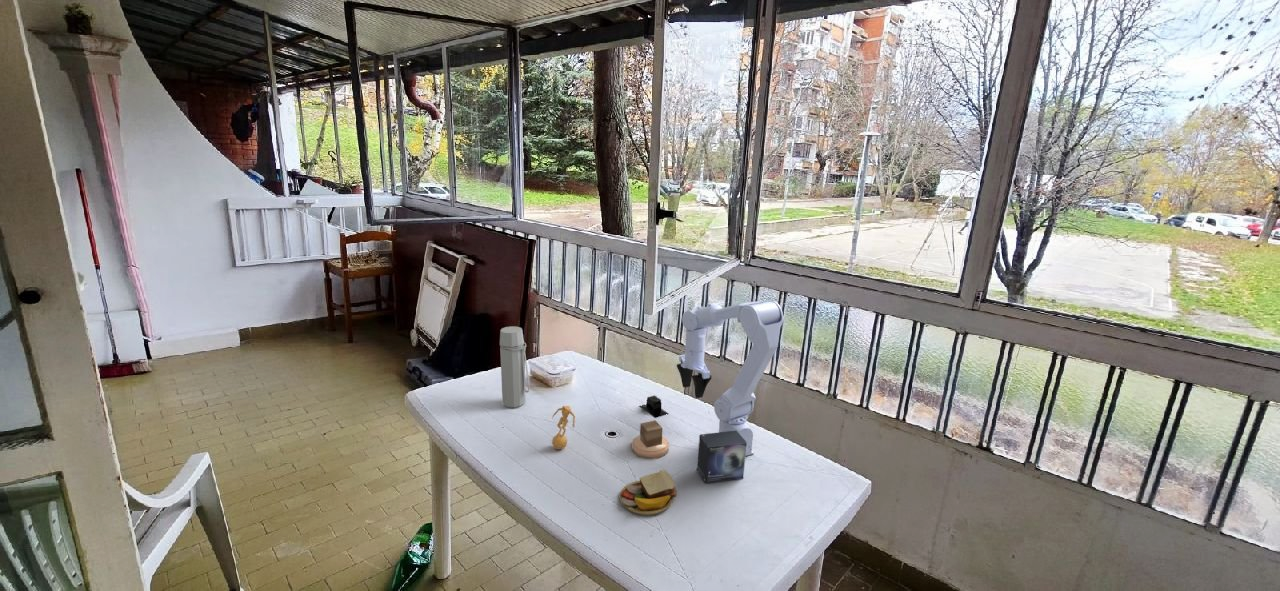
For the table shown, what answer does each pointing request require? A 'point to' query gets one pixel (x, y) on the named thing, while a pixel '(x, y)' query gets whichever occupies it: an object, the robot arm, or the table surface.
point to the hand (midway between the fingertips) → (692, 391)
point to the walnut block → (651, 433)
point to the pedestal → (650, 448)
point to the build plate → (654, 407)
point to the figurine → (560, 439)
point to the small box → (721, 456)
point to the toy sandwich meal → (649, 494)
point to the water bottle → (513, 366)
